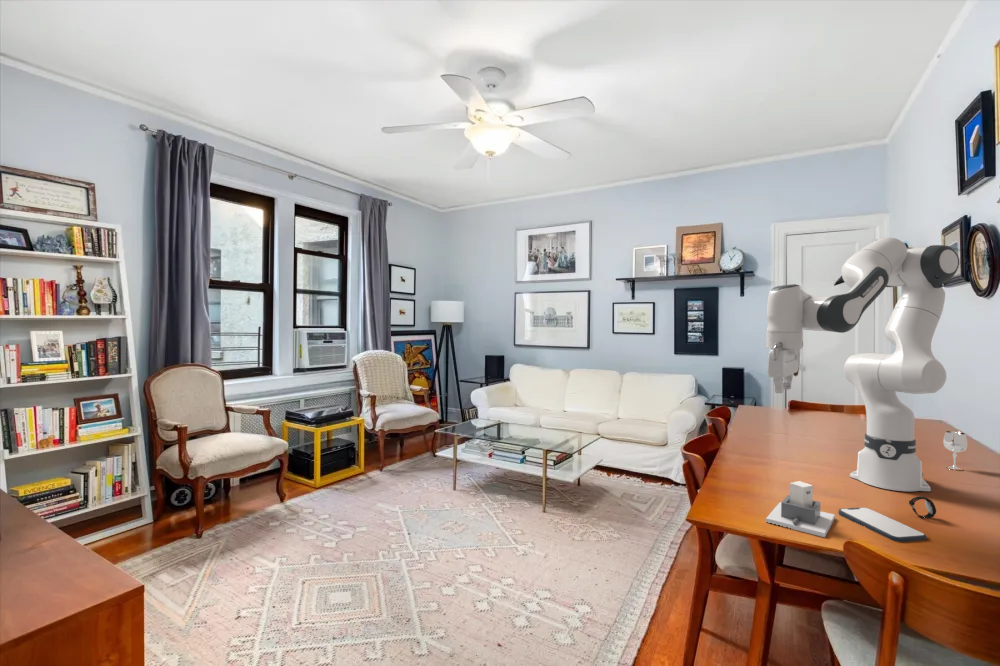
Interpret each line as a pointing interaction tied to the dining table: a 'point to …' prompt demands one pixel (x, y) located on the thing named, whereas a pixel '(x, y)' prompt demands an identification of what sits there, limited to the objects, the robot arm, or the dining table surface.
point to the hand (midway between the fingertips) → (783, 391)
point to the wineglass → (955, 444)
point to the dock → (801, 517)
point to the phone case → (882, 524)
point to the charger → (801, 494)
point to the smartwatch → (928, 504)
